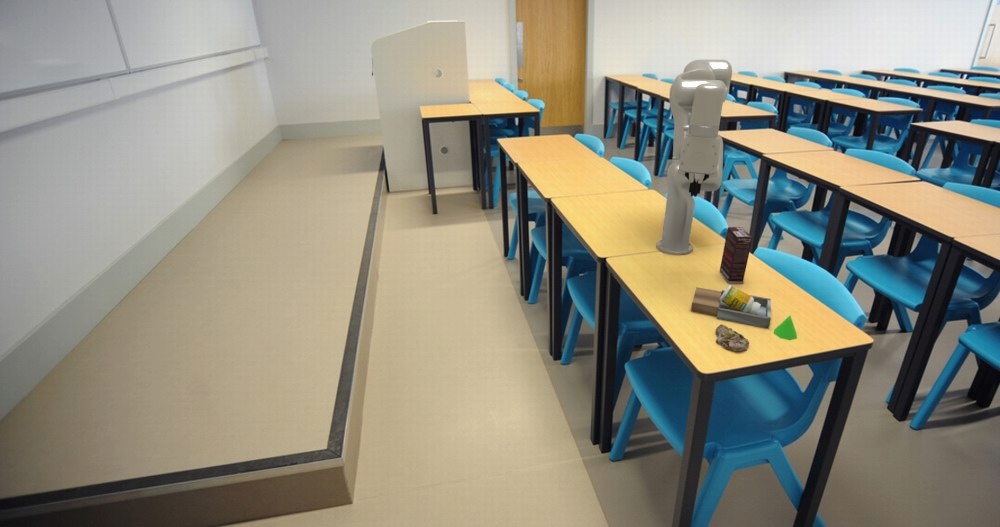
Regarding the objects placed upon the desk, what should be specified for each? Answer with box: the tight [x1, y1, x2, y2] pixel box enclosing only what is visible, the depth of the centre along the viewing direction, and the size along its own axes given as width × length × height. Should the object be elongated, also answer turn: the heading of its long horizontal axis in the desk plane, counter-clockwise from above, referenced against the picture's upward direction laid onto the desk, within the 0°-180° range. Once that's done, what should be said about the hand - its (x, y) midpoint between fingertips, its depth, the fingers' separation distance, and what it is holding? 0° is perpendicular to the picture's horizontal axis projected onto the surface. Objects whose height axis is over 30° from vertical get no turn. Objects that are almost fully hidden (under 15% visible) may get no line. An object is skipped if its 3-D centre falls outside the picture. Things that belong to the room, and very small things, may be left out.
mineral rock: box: [715, 324, 750, 352], centre depth 135 cm, size 11×4×8 cm
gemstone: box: [773, 314, 798, 341], centre depth 136 cm, size 6×6×6 cm
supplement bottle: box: [720, 284, 761, 315], centre depth 145 cm, size 5×5×10 cm
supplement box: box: [719, 226, 753, 285], centre depth 164 cm, size 9×5×16 cm, turn 178°
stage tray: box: [690, 286, 772, 329], centre depth 148 cm, size 12×20×3 cm, turn 65°
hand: (693, 195), depth 151 cm, fingers closed
